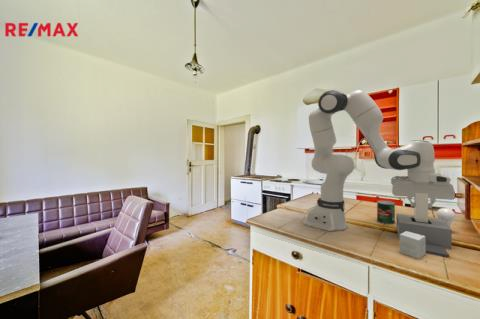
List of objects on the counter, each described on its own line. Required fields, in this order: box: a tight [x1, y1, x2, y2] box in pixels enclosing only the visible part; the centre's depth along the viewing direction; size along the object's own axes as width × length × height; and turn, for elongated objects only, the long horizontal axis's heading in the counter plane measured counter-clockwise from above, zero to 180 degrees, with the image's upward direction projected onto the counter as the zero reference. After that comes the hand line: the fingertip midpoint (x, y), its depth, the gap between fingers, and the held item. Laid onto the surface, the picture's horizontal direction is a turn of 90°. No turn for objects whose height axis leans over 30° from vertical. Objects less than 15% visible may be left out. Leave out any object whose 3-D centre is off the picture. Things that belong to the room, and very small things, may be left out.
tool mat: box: [425, 244, 450, 259], centre depth 75 cm, size 7×7×1 cm
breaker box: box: [395, 212, 453, 250], centre depth 86 cm, size 16×14×8 cm
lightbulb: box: [436, 207, 457, 228], centre depth 92 cm, size 6×6×11 cm
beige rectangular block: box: [413, 193, 429, 224], centre depth 86 cm, size 4×4×14 cm
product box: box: [399, 231, 427, 260], centre depth 74 cm, size 6×6×7 cm
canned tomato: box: [376, 200, 396, 225], centre depth 106 cm, size 8×8×11 cm
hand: (421, 207), depth 86 cm, fingers closed on beige rectangular block, 4 cm apart
